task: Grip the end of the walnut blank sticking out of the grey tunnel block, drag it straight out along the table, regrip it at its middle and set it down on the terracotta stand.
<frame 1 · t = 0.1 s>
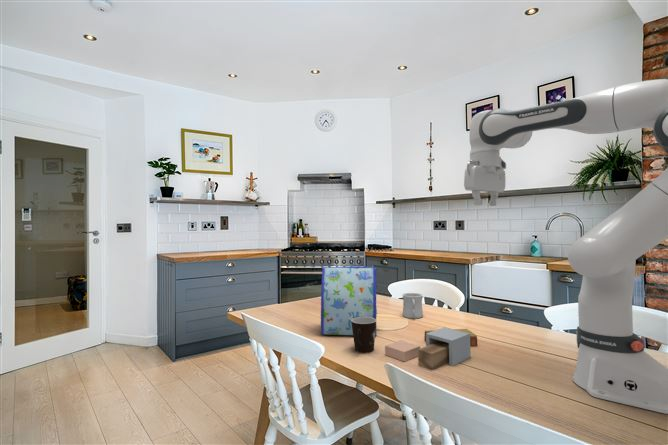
hand: (485, 205, 115), 48 cm above the table, fingers open, 8 cm apart
mug: (413, 317, 162), on the table
grey tunnel block: (448, 357, 113), on the table
coffee mug: (361, 351, 120), on the table
carton: (450, 345, 126), on the table
lunch bag: (350, 332, 142), on the table
walnut blank: (438, 362, 109), on the table
stand: (402, 355, 115), on the table
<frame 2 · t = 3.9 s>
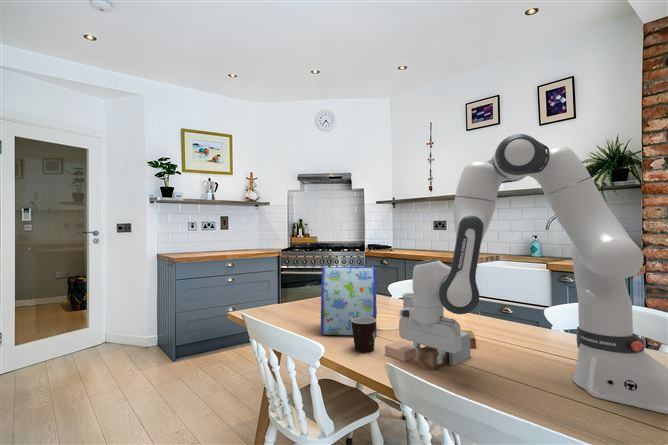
hand: (429, 360, 106), 2 cm above the table, fingers open, 5 cm apart
walnut blank: (438, 362, 109), on the table, touching gripper
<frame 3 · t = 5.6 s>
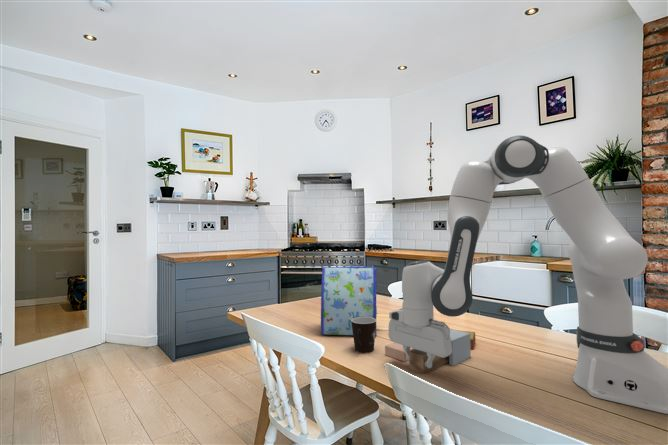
hand: (419, 363, 103), 2 cm above the table, fingers closed on walnut blank, 5 cm apart
walnut blank: (430, 365, 107), on the table, touching gripper
when the fingers open (2 cm above the table, at t = 6.6 s): walnut blank stays where it is, on the table.
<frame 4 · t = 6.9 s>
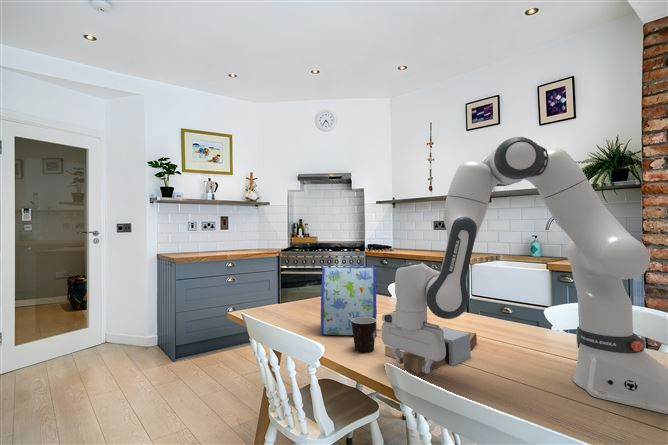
hand: (412, 367, 101), 2 cm above the table, fingers open, 8 cm apart
walnut blank: (424, 368, 105), on the table
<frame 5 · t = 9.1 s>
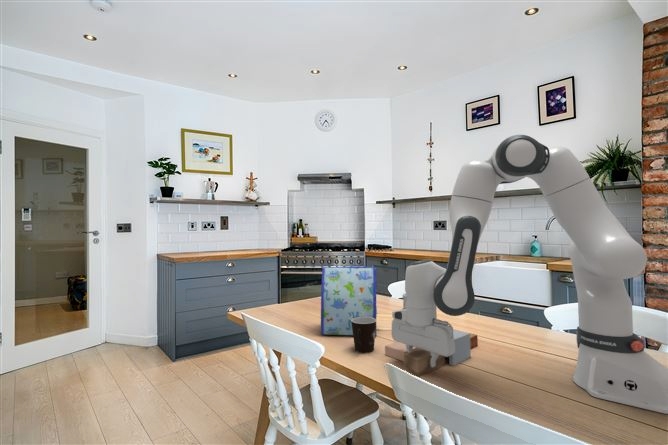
hand: (422, 363, 104), 2 cm above the table, fingers closed on walnut blank, 5 cm apart
walnut blank: (424, 368, 105), on the table, touching gripper
when the fingers open (6 cm above the table, at t = 14.0 s): walnut blank drops 1 cm, resting on stand.
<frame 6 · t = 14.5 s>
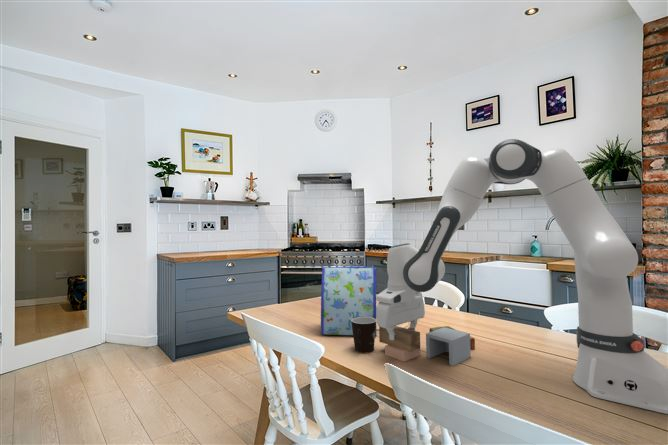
hand: (402, 336, 115), 6 cm above the table, fingers open, 8 cm apart
walnut blank: (399, 344, 116), point 3 cm above the table, touching stand
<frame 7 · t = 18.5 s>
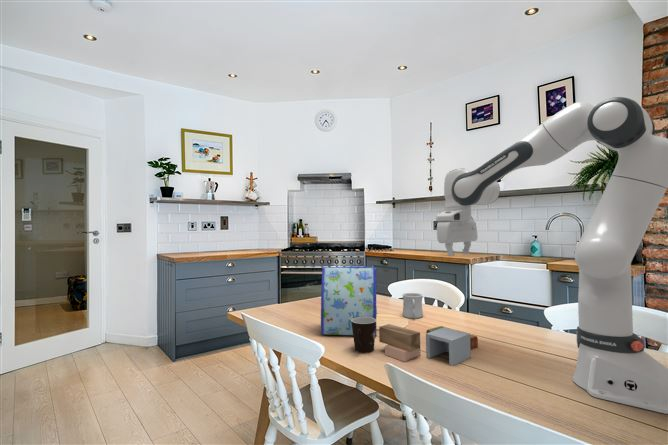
hand: (458, 255, 125), 31 cm above the table, fingers open, 8 cm apart
at the end: walnut blank inside the target area on the stand (1.4 cm from its centre), point 3.0 cm above the stand's base; walnut blank inside the target area on the table beside the grey tunnel block (45.7 cm from its centre), point 3.0 cm above the table; the gripper is holding nothing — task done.
